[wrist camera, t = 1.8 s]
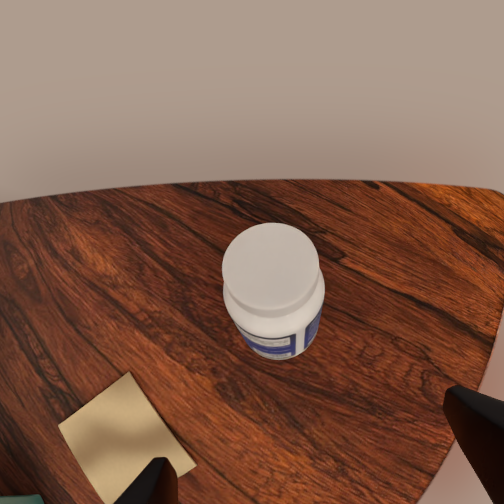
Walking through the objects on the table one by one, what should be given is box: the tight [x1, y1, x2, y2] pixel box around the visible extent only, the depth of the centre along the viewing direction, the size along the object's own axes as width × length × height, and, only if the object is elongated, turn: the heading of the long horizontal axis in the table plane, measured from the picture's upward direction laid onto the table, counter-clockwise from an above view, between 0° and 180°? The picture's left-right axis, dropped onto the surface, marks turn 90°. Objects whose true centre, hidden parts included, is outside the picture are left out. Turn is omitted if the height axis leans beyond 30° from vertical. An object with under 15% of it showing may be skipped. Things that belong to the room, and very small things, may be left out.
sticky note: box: [58, 372, 197, 504], centre depth 20 cm, size 9×9×1 cm
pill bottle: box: [222, 223, 325, 360], centre depth 20 cm, size 6×6×10 cm
